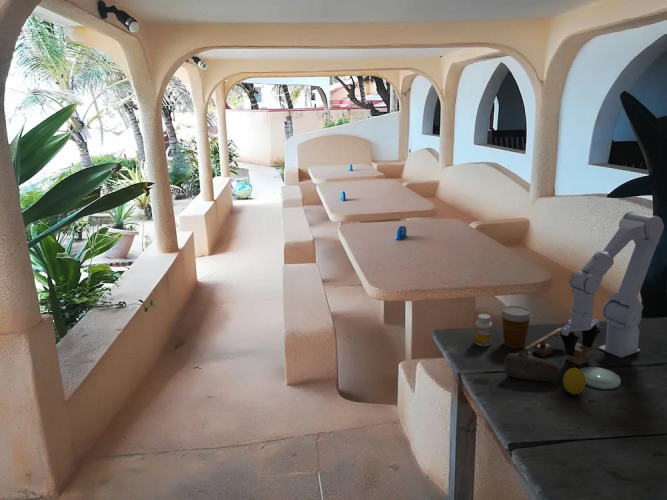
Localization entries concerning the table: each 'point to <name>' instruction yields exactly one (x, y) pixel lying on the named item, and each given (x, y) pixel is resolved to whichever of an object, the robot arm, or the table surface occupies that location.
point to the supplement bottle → (483, 330)
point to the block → (579, 354)
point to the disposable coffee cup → (515, 325)
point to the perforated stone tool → (529, 368)
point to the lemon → (574, 381)
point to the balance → (541, 345)
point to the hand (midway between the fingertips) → (578, 351)
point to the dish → (601, 378)
